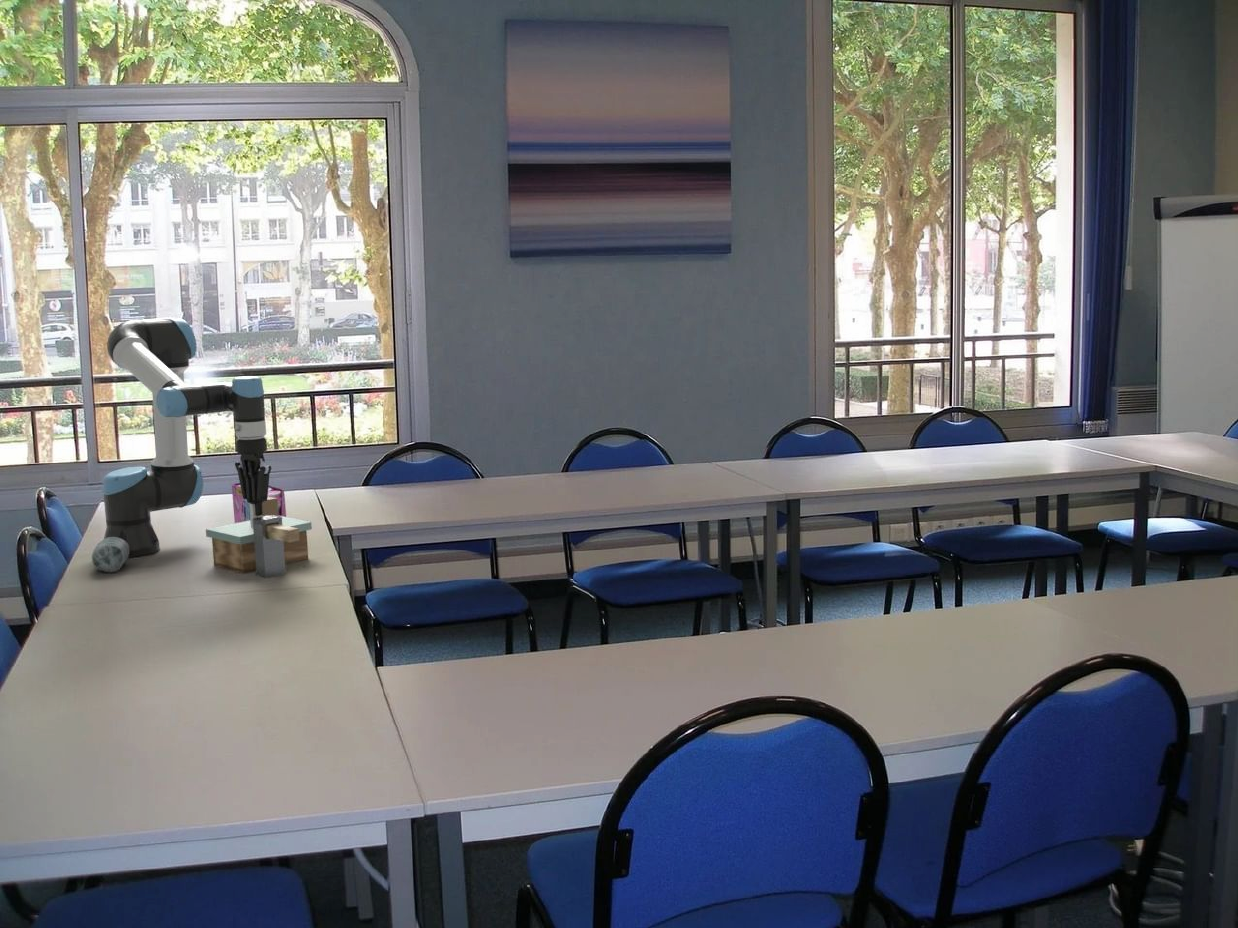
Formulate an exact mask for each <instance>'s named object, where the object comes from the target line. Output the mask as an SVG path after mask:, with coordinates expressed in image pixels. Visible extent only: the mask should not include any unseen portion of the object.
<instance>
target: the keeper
mask: <svg viewBox="0 0 1238 928" xmlns="http://www.w3.org/2000/svg"><path fill="white" fill-rule="evenodd" d="M271 523H275V524H279V525H282V517H281V516H276V515H269V516H264V517H259V518H254V519H253V531H254V545H255V560H256V571H255V572H256V576H257V577H259V578H263V579H268V578H272V577H276V576H281V575H284V574H286V564H285V556H284V541H281V540H276V539H272V538H267V537H266V526H265V525H266V524H271Z"/></svg>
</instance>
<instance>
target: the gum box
mask: <svg viewBox="0 0 1238 928" xmlns="http://www.w3.org/2000/svg"><path fill="white" fill-rule="evenodd" d="M231 493H232V494H231V495H232V506H233V517H234V518H233V519H234V523H240V522H245V521H250V513H249V503H248V502H247V500H246V499H243V496H242V491H241V486H240V482H237V483H231ZM268 497H273V498H277V504H278V515H279V516H284V517H287V509H286V497H285V489H282V488H279V487H275V486H271V485H269V486H268Z"/></svg>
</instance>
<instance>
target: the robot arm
mask: <svg viewBox="0 0 1238 928" xmlns="http://www.w3.org/2000/svg"><path fill="white" fill-rule="evenodd" d="M191 327H192V326H191V325H190V324H189V322H188V321H186V320H184V319H183V318H179V317H178V318H177V317H176V318H175V317H160V318H148V319H146V318H145V319H130V320H125V321H124V322H121V323H119V324H118V325H116V327H114V328H113V329H112V331H111V332H110V334H109V336H108V338H107V343H106V347H107V349H106V350H107V353H108V356H109V359H111V361H112V362H113V363H114V364H115V365H116V366H118V368H120V369H122V370H125V371H128V372H129V373H131V374H132V376H133V377H135V378H136V380H138V381H139V382H140V383H141V384H143V386H144V387H145V388H146V389H148V390H149V391H150V392H151V393H152V408H153V424H154V427H153V428H154V444H155V457H154V458H153V459H152V460H151V461H150V469H149V470H147V468H146V467H145V466H136V465H135V466H132V467H123V468H119V469H117V470H113V471H111V472H110V471H109V472H108V473H107V474H105V475H104V477H103V479H102V496H103V503H104V513H105V523H106V528H105V532H104V536H103V539H102V540H104V539H106V538H108V537H118V538H121V539H123V540H125V541H126V542H127V543H128V545H129V550H130V551H129V556H128V558H134V557H142V556H146V555H147V556H148V555H151V554H154V553H156V552H158V551H160V548H161V547H160V541H159V538H158V536H157V533H156V531H155V529H154V527H153V525H152V520H151V512H157V511H163V510H168V509H176V508H178V509H179V508H180V509H181V508H185V507H188V506H192V505H195V504H196V503H197V502H198V501H199V500H200V498H201V497H202V493H203V489H204V476H203V474H202V469H201V468H200V467H199V466H198V465H197V464H195V459H193V458H192V457H191V456H190V455H189V454H188V453H189V449H188V448H189V447H188V430H187V428H188V427H187V416H196V415H205V414H208V415H209V414H215V413H216V414H217V413H224V412H225V413H226V412H233V416H234V429H235V437H237V438H236V439H235V444H236V445H235V446H236V447H235V448H236V453H237V454H239V455H240V460H239V461H237V462H234V465H235V469H236V471H237V475H238V480H239V483H240V486H241V491H242V496H243V499H246V500H247V502H248V503H249V513H250V523H251V528H253V519H254V518H259V517H262V514H263V511H262V502H264V501H267V498H268V486H270V482H269V481H270V474H271V471H272V466H271V465H267V464H266V462H265V460H266V459H265V457H264V453H266V452H267V451H268V445H267V444H268V443H267V438H266V437H265V436H266V435H267V426H266V414H265V412H266V411H265V409H266V408H265V390H264V384H263V380H262V378H261V377H260V376H255V375H254V376H253V375H246V376H245V375H243V376H236V377H234V378H232V381H229V380H225V381H222V380H221V381H217V382H214V383H206V384H192V385H188V384H187V383H186V382H185V371H187V369H188V368H189V367H190V363H189V360H191V359H194V358H195V357H196V352H197V350H198V349H197V341H196V340H197V339H196V336H195V333H194V330H193V329H192V328H191Z"/></svg>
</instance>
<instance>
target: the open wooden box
mask: <svg viewBox="0 0 1238 928" xmlns="http://www.w3.org/2000/svg"><path fill="white" fill-rule="evenodd" d="M307 531H308V530H306V531H301V532H299V540H298V541H294V542H285V541H284V556H285V565H286V564H290V563H294V562H299V561H302V560H306V559H307V560H308V559H309V548H308V535H307V534H308V533H307ZM211 543H212V558H213V566H215V567H218V568H222V569H226V570H230V571H233V572H236V573H241V574H247V573H252V572H256V560H255V545H254V542H250V543H245V544H241V545H240V544H236V543H232V542H227V541H223V540H219V539H215V538H211Z"/></svg>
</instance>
